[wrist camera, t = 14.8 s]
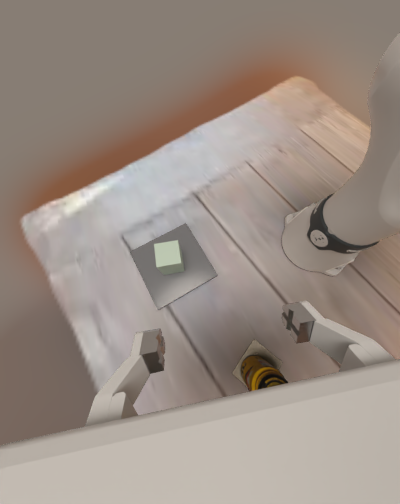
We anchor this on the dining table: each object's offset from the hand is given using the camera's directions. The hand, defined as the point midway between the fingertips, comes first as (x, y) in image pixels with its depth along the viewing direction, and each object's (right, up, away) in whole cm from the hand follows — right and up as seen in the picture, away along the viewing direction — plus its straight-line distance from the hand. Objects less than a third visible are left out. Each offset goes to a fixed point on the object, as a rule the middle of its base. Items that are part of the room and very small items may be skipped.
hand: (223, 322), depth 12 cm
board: (-8, +2, +34) cm, 35 cm away
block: (-8, +2, +33) cm, 34 cm away
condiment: (+11, -20, +27) cm, 35 cm away
